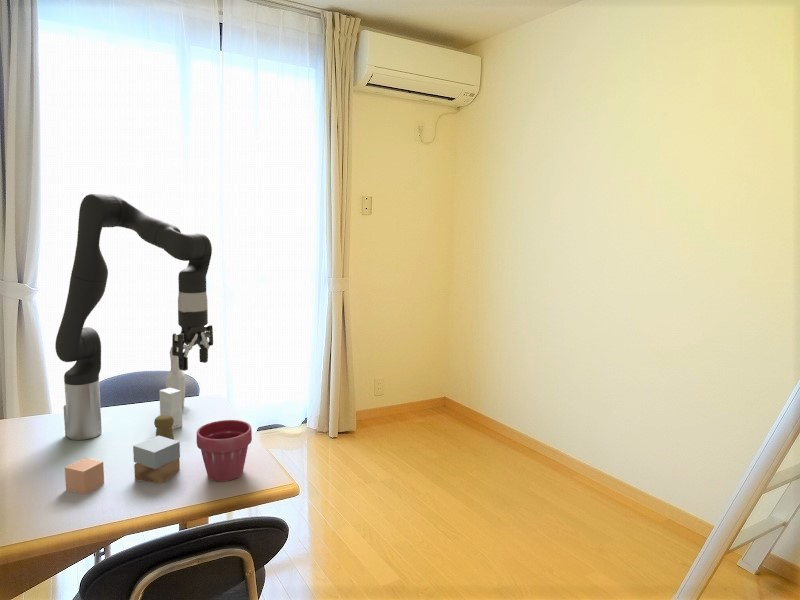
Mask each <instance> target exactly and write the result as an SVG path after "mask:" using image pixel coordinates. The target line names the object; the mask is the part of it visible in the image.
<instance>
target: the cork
mask: <svg viewBox="0 0 800 600" xmlns="http://www.w3.org/2000/svg"><path fill="white" fill-rule="evenodd" d="M153 423H154V428H156V429H155V430H156V431H155V437H156V436H158V435H159V436H162V437H166V438H169V439H172V440H175V436H174V431H173V430H174V429H172V426H173V423H174V419H173V417H172V416H171V415H160V414H159V415H158V416H157V417H155V418H154V422H153Z"/></svg>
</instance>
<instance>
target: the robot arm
mask: <svg viewBox="0 0 800 600" xmlns="http://www.w3.org/2000/svg"><path fill="white" fill-rule="evenodd" d="M78 212H79V213H78V224H77V238H76V240H77V241H76V247H75V252H74V261H73V265H72V269H71V273H70V279H69V286H68V292H67V298H66V301H65V307H64V311H63V315H62V317H61V318H62V319H61V320H60V321H61V322H60V325H59V327H58V331H57V334H56V339H55V344H54V345H55V353H56V356H57V358H59V360H60V361H62V362H64V363H73V362H75V363H74V364H73V366H72V367H70V368H69V369H68V370H67V371H65V372H64V375H63V380H64V381H63V382H64V393H65V395H64V397H65V404H64V405H63V420H64V433H65V434H64V436H66V437H67V438H68V439H69V440H73V441H74V440H75V441H82V440H84V441H85V440H91V439H93V438H95V437H98V436H100V435H101V434H102V429H103V428H102V411H101V409H102V408H101V393H100V391H101V390H100V373H101V370H102V369H101V368H102V342H101V338H100V335H99V332H97V330H95V329H94V328H93V327H88V326H87V327H84V326H85V322H86V320H87V318H88V317H89V316H90V314H91V313H92V311H93V310H94V309H96V308H95V307H97V305H98V304H99V302H100V301H101V299H103V298H102V297H103V296H104V294H105V291H106V287H107V283H108V276H109V269H108V265H107V262H106V260H105V259H104V256H103V254H102V252H101V248H100V247H101V246H100V241H101V240H100V239H101V233H102V230H103V228H115V227H118V228H124V229H128V230H131V231H134V232H136V233H137V235H138V236H139V237H140V239H142V240H143V241H145V242H146V243H148V244H151V245H152V246H155V247H157V248H159V249H162V250H164V252H165V253H167V254H168V255H170V256H171V257H172V258H174V259H176V260H179V261H183V262H187V263H188V264H187V266H186V268H183V269H182V270H180V271H179V273H178V277H177V278H178V279H177V280H178V294H177V295H178V296H177V317H178V318H177V319H178V321H177V323H178V326H180V328H181V331H180V332H179V333H177V332H174V333H173V334H172V343H171V346H172V355H174V356H178V358H179V369H180V370H182V371H184V372H185V371H188V369H189V364H188V363H189V360H188V358H189V357H188V355H189V353H190V351H191V350H192V349H193V347H194V346H196V345H197V346H198V348H199V349H198V351H199V362H200V363H204V364H205V363H207V362H208V360H209V349H210V347H211V346H213V345H214V332H213V331H214V330H213V328H214V327H213V325H211V324H208V323H209V322H208V320H209V319H208V318H209V317H208V316H209V315H208V313H209V311H208V307H209V306H208V295H207V274H208V271H209V267H210V263H211V259H212V255H213V252H212V251H213V246H212V243H211V240H210V238H209V237H208V236H207V235H205V234H203V233H183V232H182V231H181V230H180V228H179V227H177V226H175V225H174V224H171V223H169V222H166V221H164V220H161V219H159V218H156V217H154V216H152V215H150V214H148V213H146V212H144V211H142V210H141V209H139V208H138V207H136V206H134V205H132V204H131V203H129V202H128V201H126V200H125V199H123V198H122V197H120V196H118V195H114V194H104V193H103V194H102V193H101V194H100V193H99V194H98V193H90V194H87V195H85V196H84V197H83V199H82V200H81V203H80V207H79V210H78ZM177 347H178V348H179V349H178V351H177ZM208 363H209V362H208Z"/></svg>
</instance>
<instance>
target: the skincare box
mask: <svg viewBox="0 0 800 600" xmlns="http://www.w3.org/2000/svg"><path fill="white" fill-rule="evenodd" d="M158 392H159V393H158V394H159V416H160V415H171V416H172V417H173V419H174V423H173V426H172V430H174V429H178V428H180V427H183V425H184V424H183V407H182V395H181V391H180V390H177V389H173V388H167V389H166V388H164V389H159V391H158Z"/></svg>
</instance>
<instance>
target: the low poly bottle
mask: <svg viewBox="0 0 800 600" xmlns="http://www.w3.org/2000/svg"><path fill="white" fill-rule="evenodd" d="M178 349H179V348H178V347H177V351H178ZM169 358H170V359H169V360H170V370H169V371H168V373H167V375H166V377H165V389H167V388H173V389H177V390H180V391H181V395H182V408H183V407H184V406H185V398H186V397H185V395H186V388H187V381H186V379H187V378H186V373H185V371H184V372H183V370H180V369H179V358H178V356H174V355H172V345H171V346H170V350H169Z"/></svg>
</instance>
